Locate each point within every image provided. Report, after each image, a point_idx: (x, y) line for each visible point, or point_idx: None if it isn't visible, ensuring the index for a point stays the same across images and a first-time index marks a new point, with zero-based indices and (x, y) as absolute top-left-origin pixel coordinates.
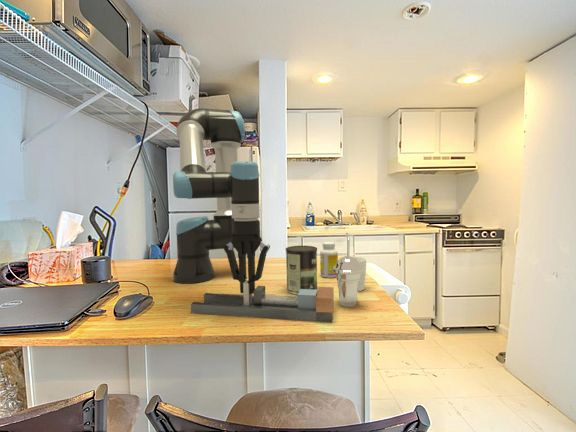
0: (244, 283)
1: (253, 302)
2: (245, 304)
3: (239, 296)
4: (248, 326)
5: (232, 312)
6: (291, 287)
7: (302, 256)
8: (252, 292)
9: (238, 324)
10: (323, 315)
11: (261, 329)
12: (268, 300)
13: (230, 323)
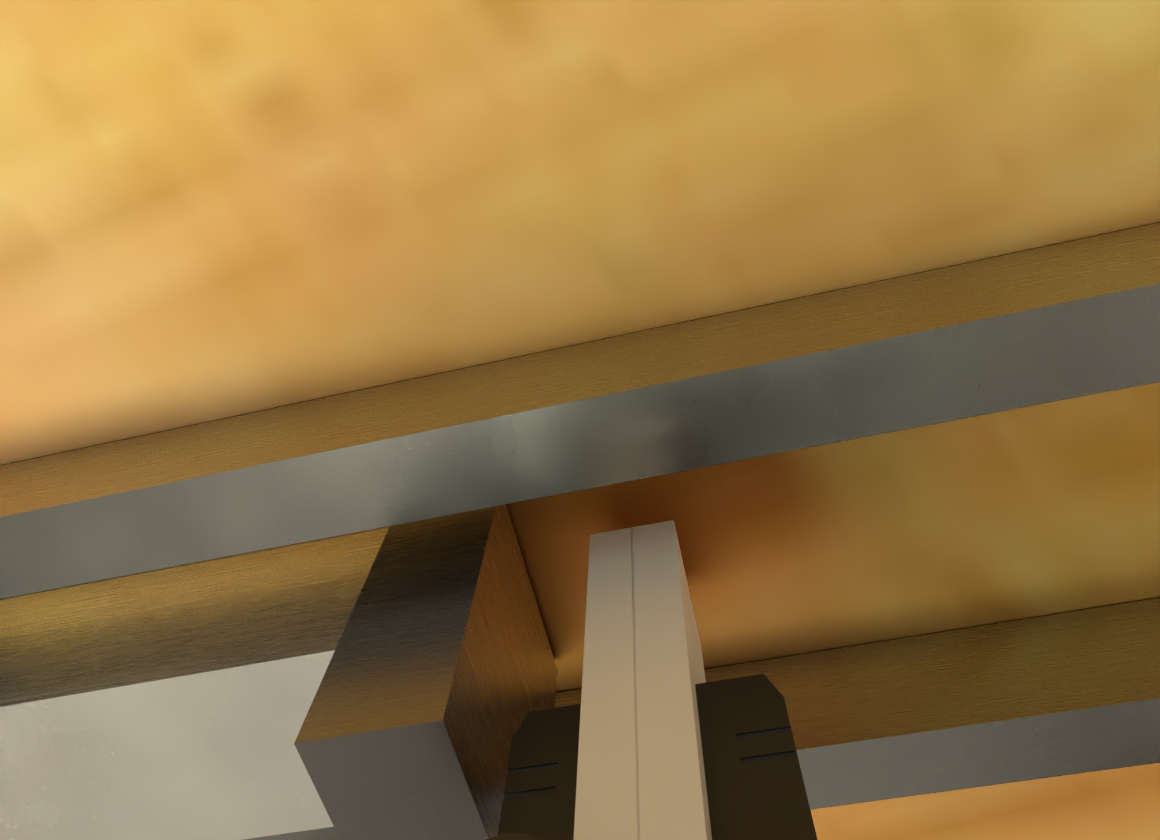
0: (673, 837)
1: None
2: (647, 544)
3: (890, 742)
4: (315, 71)
5: (767, 323)
6: None
7: None
8: (530, 730)
9: (498, 72)
10: None
11: (79, 58)
12: (242, 657)
13: (639, 53)
